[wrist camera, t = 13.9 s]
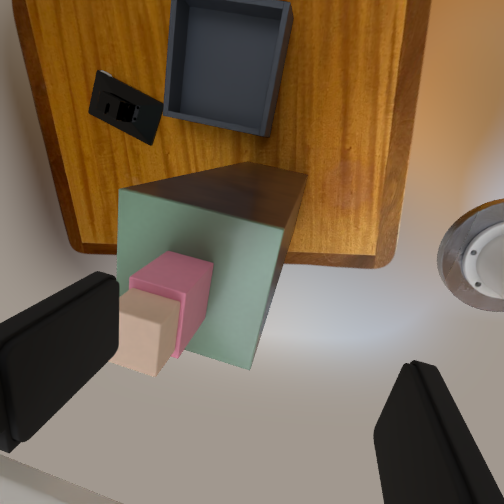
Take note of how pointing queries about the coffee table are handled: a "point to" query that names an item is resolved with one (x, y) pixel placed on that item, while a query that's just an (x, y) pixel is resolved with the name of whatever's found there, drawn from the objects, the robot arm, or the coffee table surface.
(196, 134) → the coffee table surface
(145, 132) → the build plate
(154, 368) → the pink block
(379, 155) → the coffee table surface
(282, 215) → the stand
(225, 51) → the basin
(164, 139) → the coffee table surface
